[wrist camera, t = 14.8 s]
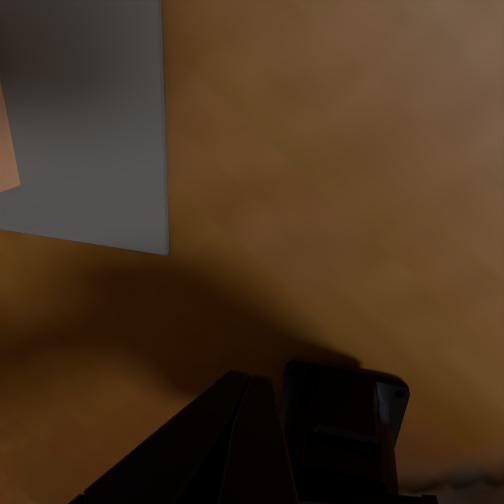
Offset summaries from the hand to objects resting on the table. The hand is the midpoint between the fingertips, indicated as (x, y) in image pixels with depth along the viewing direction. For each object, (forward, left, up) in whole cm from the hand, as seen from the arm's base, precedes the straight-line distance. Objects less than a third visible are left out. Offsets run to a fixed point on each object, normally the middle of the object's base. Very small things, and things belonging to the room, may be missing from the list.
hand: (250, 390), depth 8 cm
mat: (+4, +15, -12) cm, 20 cm away
